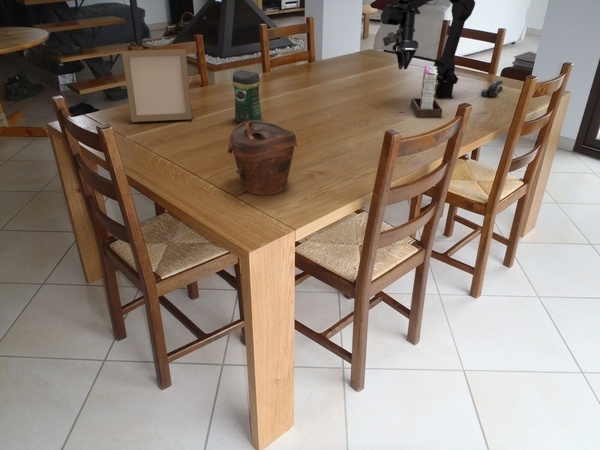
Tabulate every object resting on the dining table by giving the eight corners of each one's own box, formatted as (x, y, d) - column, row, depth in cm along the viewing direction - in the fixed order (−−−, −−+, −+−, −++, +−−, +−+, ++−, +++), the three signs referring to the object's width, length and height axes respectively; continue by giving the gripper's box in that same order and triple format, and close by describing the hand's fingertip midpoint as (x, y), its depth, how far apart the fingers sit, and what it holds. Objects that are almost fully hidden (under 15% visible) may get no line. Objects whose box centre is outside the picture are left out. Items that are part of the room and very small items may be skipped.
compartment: (432, 105, 204) (433, 98, 202) (441, 117, 192) (442, 109, 190) (410, 105, 204) (411, 98, 202) (417, 117, 192) (418, 109, 190)
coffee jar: (265, 120, 188) (263, 71, 178) (251, 127, 183) (249, 75, 173) (245, 115, 193) (242, 66, 183) (231, 121, 187) (228, 71, 178)
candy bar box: (418, 106, 203) (424, 65, 195) (431, 107, 202) (437, 66, 194) (418, 115, 194) (424, 73, 185) (432, 116, 193) (438, 73, 184)
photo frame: (192, 121, 187) (184, 52, 174) (132, 124, 184) (119, 54, 171) (192, 108, 200) (185, 43, 187) (136, 111, 197) (125, 45, 184)
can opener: (494, 99, 211) (497, 86, 208) (478, 96, 215) (481, 83, 212) (508, 89, 223) (511, 77, 220) (492, 87, 227) (495, 74, 224)
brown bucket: (243, 167, 153) (239, 111, 144) (305, 176, 149) (306, 118, 139) (218, 194, 139) (213, 132, 129) (287, 204, 134) (286, 141, 125)
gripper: (381, 27, 199) (378, 68, 204) (390, 23, 181) (386, 68, 186) (409, 29, 200) (405, 70, 204) (420, 24, 182) (416, 69, 186)
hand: (402, 69), depth 195 cm, fingers open, 9 cm apart
